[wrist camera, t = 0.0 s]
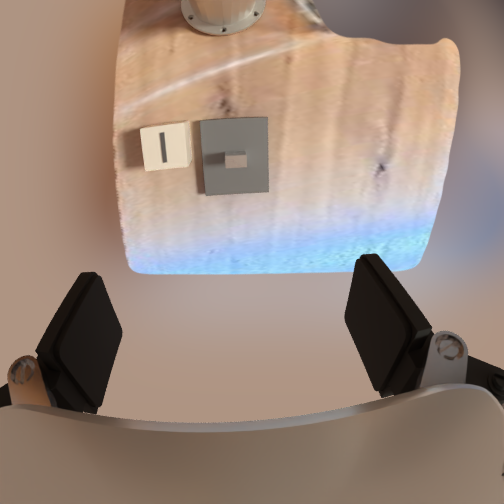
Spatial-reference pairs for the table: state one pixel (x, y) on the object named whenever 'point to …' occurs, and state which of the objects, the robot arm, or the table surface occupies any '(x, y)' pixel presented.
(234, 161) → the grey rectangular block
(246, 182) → the plate
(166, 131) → the cream coin box
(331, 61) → the table surface
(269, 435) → the robot arm
